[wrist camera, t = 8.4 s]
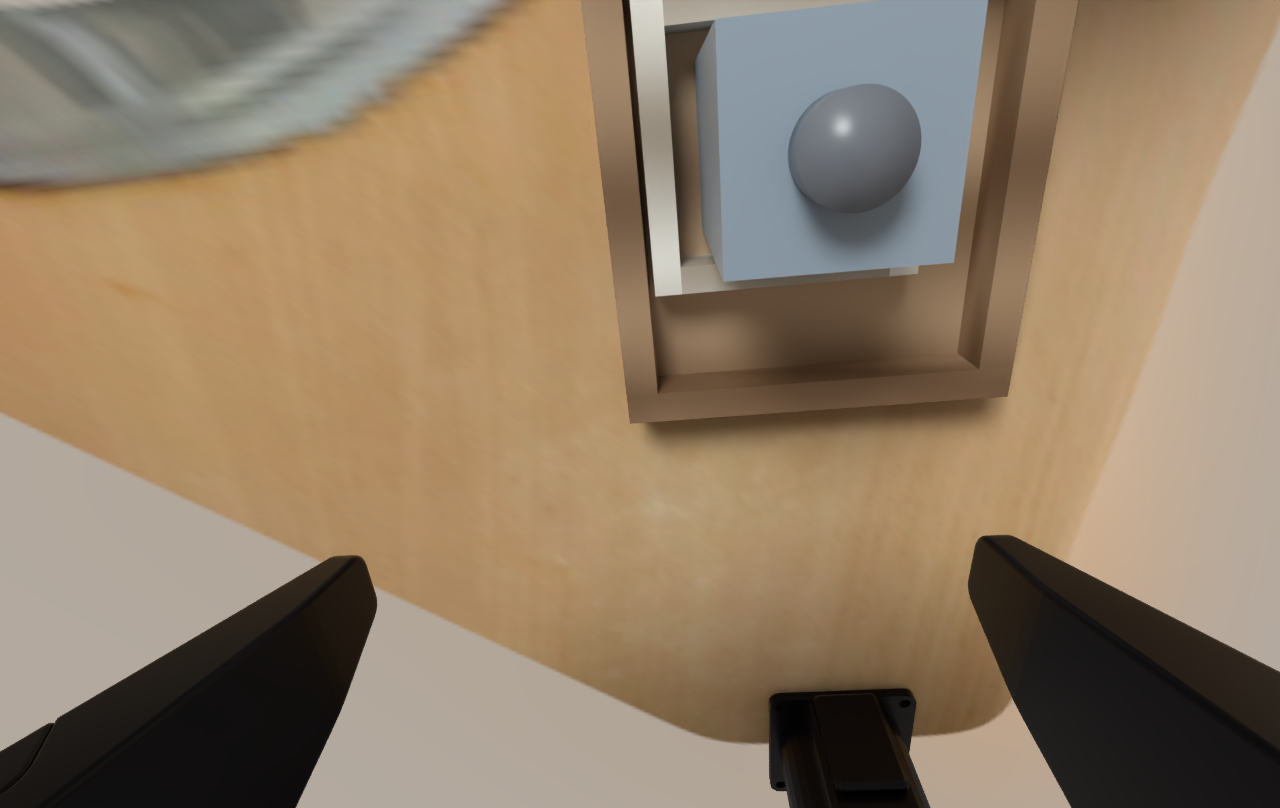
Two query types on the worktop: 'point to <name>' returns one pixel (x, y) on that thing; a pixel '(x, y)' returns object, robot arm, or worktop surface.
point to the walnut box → (818, 303)
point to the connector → (836, 135)
